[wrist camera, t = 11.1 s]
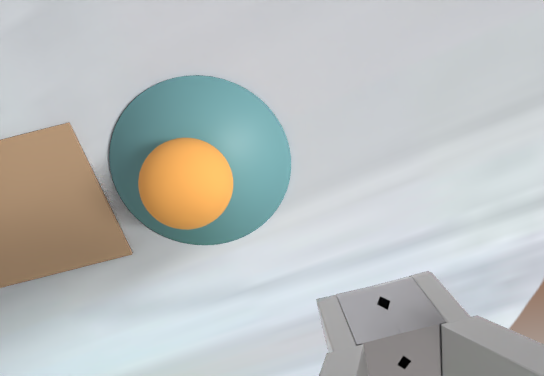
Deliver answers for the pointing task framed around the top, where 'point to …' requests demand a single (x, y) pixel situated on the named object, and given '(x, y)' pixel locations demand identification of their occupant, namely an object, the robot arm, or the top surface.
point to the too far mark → (52, 208)
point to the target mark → (216, 131)
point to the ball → (185, 183)
